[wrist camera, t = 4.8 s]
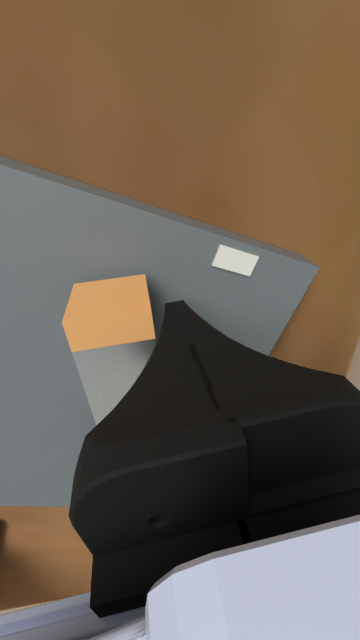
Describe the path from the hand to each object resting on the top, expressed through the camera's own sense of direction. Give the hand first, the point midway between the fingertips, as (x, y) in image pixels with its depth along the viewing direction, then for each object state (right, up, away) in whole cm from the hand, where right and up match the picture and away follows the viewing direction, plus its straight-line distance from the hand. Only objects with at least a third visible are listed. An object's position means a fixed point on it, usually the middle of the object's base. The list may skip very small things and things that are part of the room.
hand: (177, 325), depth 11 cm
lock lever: (-2, -3, +3) cm, 5 cm away
